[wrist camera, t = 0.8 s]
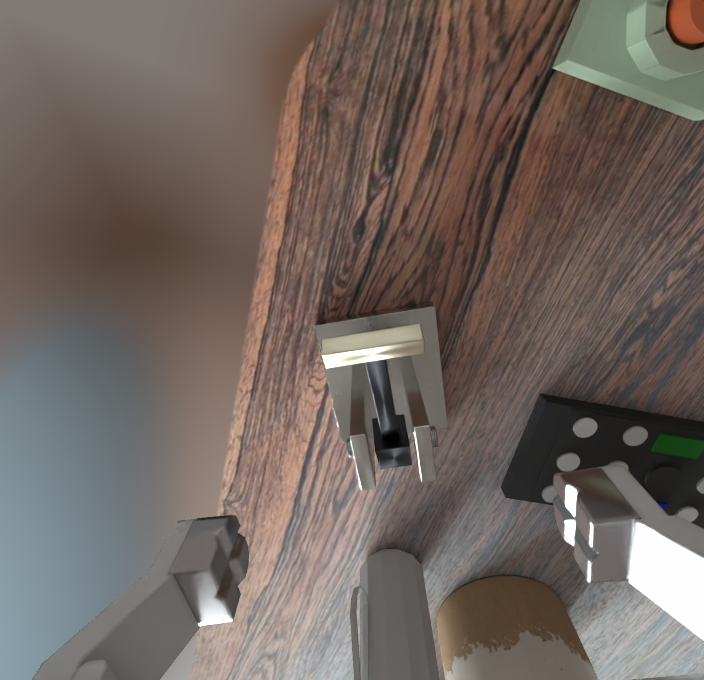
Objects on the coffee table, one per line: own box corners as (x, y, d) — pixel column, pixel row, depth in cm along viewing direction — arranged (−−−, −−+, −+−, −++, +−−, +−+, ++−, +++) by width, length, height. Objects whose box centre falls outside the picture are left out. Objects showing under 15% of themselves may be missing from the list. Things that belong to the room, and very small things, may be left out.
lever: (320, 329, 21) (321, 365, 19) (418, 313, 20) (427, 349, 19) (357, 440, 30) (360, 472, 28) (426, 431, 29) (432, 462, 28)
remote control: (775, 530, 43) (794, 546, 41) (500, 486, 42) (507, 501, 40) (843, 446, 39) (867, 459, 37) (540, 393, 37) (549, 405, 35)
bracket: (315, 320, 35) (296, 389, 24) (432, 301, 34) (466, 364, 23) (342, 435, 39) (335, 536, 29) (445, 420, 39) (479, 519, 28)
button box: (551, 68, 27) (581, 53, 24) (614, -82, 24) (659, -127, 21) (693, 121, 29) (743, 114, 25) (771, -17, 26) (840, -48, 22)
